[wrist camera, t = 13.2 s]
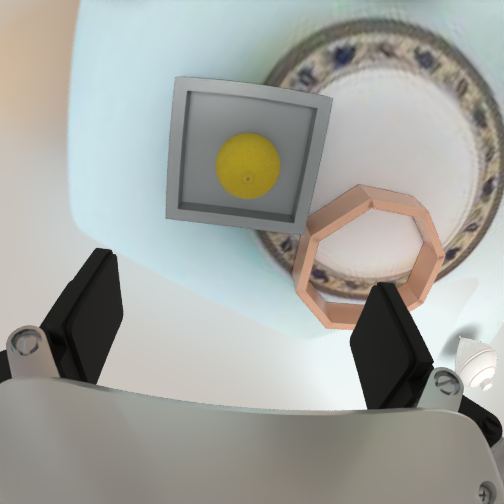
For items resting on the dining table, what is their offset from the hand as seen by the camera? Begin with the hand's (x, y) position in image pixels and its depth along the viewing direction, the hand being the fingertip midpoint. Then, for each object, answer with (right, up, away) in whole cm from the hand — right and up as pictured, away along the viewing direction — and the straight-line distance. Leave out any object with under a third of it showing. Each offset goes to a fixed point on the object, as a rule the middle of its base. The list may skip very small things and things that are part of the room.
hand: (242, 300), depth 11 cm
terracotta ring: (+14, +1, +26) cm, 30 cm away
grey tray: (0, +12, +20) cm, 23 cm away
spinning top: (+36, -13, +35) cm, 52 cm away
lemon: (0, +11, +19) cm, 23 cm away
